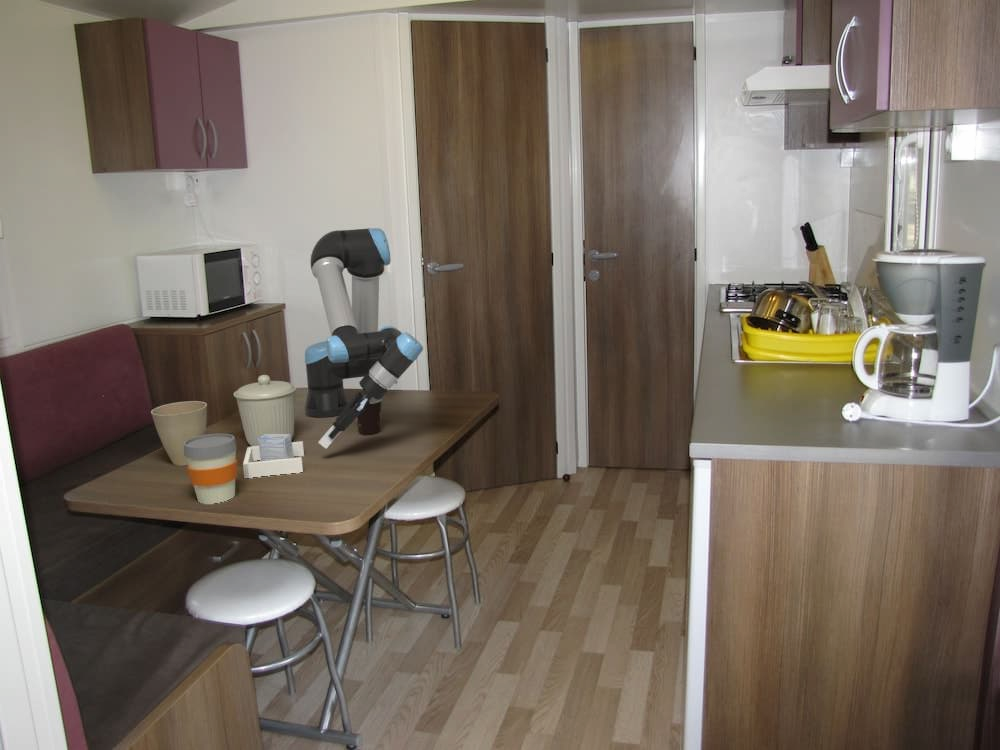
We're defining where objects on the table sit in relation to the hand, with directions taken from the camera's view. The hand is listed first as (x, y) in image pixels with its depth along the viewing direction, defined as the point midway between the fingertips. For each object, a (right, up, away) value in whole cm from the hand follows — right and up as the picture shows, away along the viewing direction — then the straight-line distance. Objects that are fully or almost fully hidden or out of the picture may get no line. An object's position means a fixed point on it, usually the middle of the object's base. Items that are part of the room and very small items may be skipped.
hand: (322, 445), depth 251 cm
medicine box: (-12, -6, -1) cm, 13 cm away
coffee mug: (+10, +2, +28) cm, 30 cm away
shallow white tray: (-12, -6, -1) cm, 13 cm away
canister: (-19, -1, +20) cm, 28 cm away
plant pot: (-40, -6, +7) cm, 41 cm away
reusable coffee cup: (-22, -12, -24) cm, 34 cm away
